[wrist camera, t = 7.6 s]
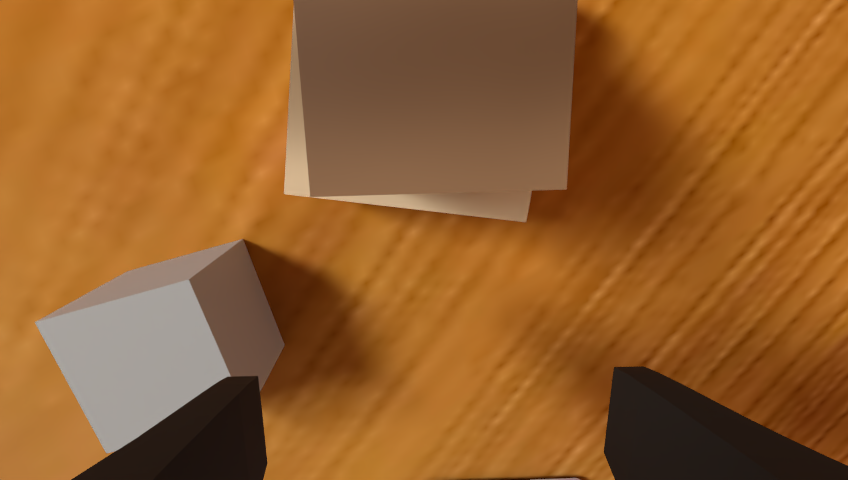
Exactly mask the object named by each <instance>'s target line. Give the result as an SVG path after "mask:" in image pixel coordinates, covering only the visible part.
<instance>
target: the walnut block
mask: <svg viewBox="0 0 848 480" xmlns="http://www.w3.org/2000/svg"><path fill="white" fill-rule="evenodd" d="M577 1H578V0H294V12H295V24H296V36H297V47H298V59H299V71H300V82H301V94H302V106H303V118H304V129H305V141H306V153H307V164H308V176H309V188H310V197H329V196H363V195H397V194H431V193H465V192H499V191H534V190H567V176H568V159H569V141H570V124H571V106H572V89H573V71H574V54H575V36H576V19H577Z"/></svg>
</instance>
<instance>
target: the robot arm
mask: <svg viewBox="0 0 848 480" xmlns="http://www.w3.org/2000/svg"><path fill="white" fill-rule="evenodd" d="M604 454H605V456H606V458H607V461H608V463H609V466H610V468H611V471H612V473H613V476H614V478H615V480H848V466H847V465H845V464H842V463H840V462H838V461H835V460H833V459H831V458H829V457H827V456H825V455H822V454H820V453H818V452H816V451H814V450H812V449H810V448H808V447H805V446H803V445H801V444H799V443H797V442H795V441H793V440H791V439H788V438H786V437H784V436H782V435H780V434H778V433H776V432H774V431H772V430H770V429H768V428H766V427H764V426H762V425H760V424H758V423H756V422H754V421H752V420H750V419H748V418H746V417H744V416H742V415H740V414H738V413H736V412H734V411H732V410H730V409H729V408H727V407H725V406H723V405H721V404H719V403H717V402H715V401H713V400H711V399H709V398H707V397H705V396H704V395H702V394H700V393H698V392H696V391H694V390H692V389H690V388H688V387H686V386H684V385H682V384H680V383H678V382H676V381H674V380H672V379H670V378H668V377H666V376H664V375H662V374H660V373H658V372H655V371H653V370H651V369H648V368H646V367H614V372H613V380H612V388H611V397H610V405H609V414H608V422H607V430H606V439H605V447H604ZM266 466H267V456H266V446H265V436H264V427H263V417H262V408H261V398H260V388H259V379H258V376H233V377H226V378H224V379H222V380H221V381H219V382H217V383H216V384H214V385H213V386H211V387H210V388H208V389H207V390H205V391H204V392H202V393H201V394H199V395H198V396H196V397H195V398H194V399H192V400H191V401H189V402H188V403H186V404H185V405H184V406H182V407H181V408H179V409H178V410H176V411H175V412H173V413H172V414H171V415H169V416H168V417H166V418H165V419H163V420H162V421H160V422H159V423H158V424H156V425H155V426H153V427H152V428H150V429H149V430H147V431H146V432H144V433H143V434H142V435H140V436H139V437H137V438H136V439H134V440H133V441H131V442H129V443H128V444H126V445H125V446H123V447H122V448H120V449H119V450H117V451H115V452H114V453H112V454H111V455H109V456H108V457H106V458H104V459H103V460H101V461H100V462H98V463H97V464H95V465H94V466H92V467H90V468H89V469H87V470H86V471H84V472H83V473H81V474H79V475H78V476H76V477H75V478H73V479H71V480H263V478H264V474H265V470H266ZM532 480H581V479H579V478H560V479H532Z"/></svg>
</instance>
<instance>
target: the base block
mask: <svg viewBox="0 0 848 480" xmlns="http://www.w3.org/2000/svg"><path fill="white" fill-rule="evenodd" d="M284 194H288V195H296V196H305V197H310V188H309V176H308V164H307V153H306V141H305V129H304V118H303V106H302V94H301V82H300V71H299V59H298V47H297V36H296V24H295V12H293V31H292V50H291V70H290V89H289V108H288V128H287V147H286V166H285V186H284ZM531 194H532V191H499V192H465V193H431V194H397V195H363V196H329V197H313V198H322V199H331V200H339V201H348V202H356V203H365V204H373V205H382V206H390V207H399V208H408V209H416V210H425V211H433V212H442V213H450V214H459V215H467V216H476V217H484V218H493V219H502V220H510V221H519V222H526V220H527V215H528V210H529V204H530V199H531Z"/></svg>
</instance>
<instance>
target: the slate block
mask: <svg viewBox="0 0 848 480" xmlns="http://www.w3.org/2000/svg"><path fill="white" fill-rule="evenodd" d="M35 323H36V325H37V327H38V329H39V331H40V333H41V334H42V336H43V338H44V340H45V342H46V344H47V345H48V347H49V349H50V351H51V353H52V355H53V356H54V358H55V360H56V362H57V364H58V366H59V367H60V369H61V371H62V373H63V375H64V377H65V378H66V380H67V382H68V384H69V386H70V388H71V389H72V391H73V393H74V395H75V397H76V399H77V400H78V402H79V404H80V406H81V408H82V410H83V411H84V413H85V415H86V417H87V419H88V421H89V422H90V424H91V426H92V428H93V430H94V432H95V433H96V435H97V437H98V439H99V441H100V443H101V444H102V446H103V448H104V450H105V452H106V453H110V452H114V451H117V450H119V449H120V448H122V447H123V446H125V445H126V444H128V443H129V442H131V441H133V440H134V439H136V438H137V437H139V436H140V435H142V434H143V433H144V432H146V431H147V430H149V429H150V428H152V427H153V426H155V425H156V424H158V423H159V422H160V421H162V420H163V419H165V418H166V417H168V416H169V415H171V414H172V413H173V412H175V411H176V410H178V409H179V408H181V407H182V406H184V405H185V404H186V403H188V402H189V401H191V400H192V399H194V398H195V397H196V396H198V395H199V394H201V393H202V392H204V391H205V390H207V389H208V388H210V387H211V386H213V385H214V384H216V383H217V382H219V381H221V380H222V379H224V378H226V377H233V376H258V379H259V388H260V391H261V390H262V388H263V386H264V384H265V382H266V380H267V378H268V376H269V374H270V372H271V371H272V369H273V367H274V365H275V363H276V361H277V359H278V357H279V355H280V353H281V351H282V350H283V348H284V346H285V344H284V342H283V339H282V337H281V334H280V332H279V329H278V327H277V324H276V322H275V319H274V316H273V314H272V311H271V309H270V306H269V304H268V301H267V299H266V296H265V294H264V291H263V288H262V286H261V283H260V281H259V278H258V276H257V273H256V271H255V268H254V266H253V263H252V261H251V258H250V255H249V253H248V250H247V248H246V245H245V243H244V240H243V239H241V240H238V241H234V242H231V243H227V244H223V245H220V246H216V247H213V248H209V249H206V250H202V251H198V252H195V253H191V254H188V255H184V256H181V257H177V258H173V259H170V260H166V261H163V262H159V263H156V264H152V265H148V266H145V267H141V268H138V269H134V270H131V271H127V272H125V273H124V274H122V275H120V276H118V277H116V278H114V279H113V280H111V281H109V282H107V283H105V284H104V285H102V286H100V287H98V288H96V289H94V290H93V291H91V292H89V293H87V294H85V295H84V296H82V297H80V298H78V299H76V300H75V301H73V302H71V303H69V304H67V305H65V306H64V307H62V308H60V309H58V310H56V311H55V312H53V313H51V314H49V315H47V316H45V317H44V318H42V319H40V320H38V321H36V322H35Z"/></svg>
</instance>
